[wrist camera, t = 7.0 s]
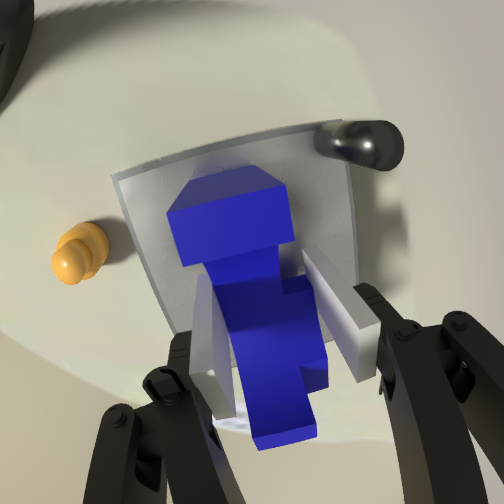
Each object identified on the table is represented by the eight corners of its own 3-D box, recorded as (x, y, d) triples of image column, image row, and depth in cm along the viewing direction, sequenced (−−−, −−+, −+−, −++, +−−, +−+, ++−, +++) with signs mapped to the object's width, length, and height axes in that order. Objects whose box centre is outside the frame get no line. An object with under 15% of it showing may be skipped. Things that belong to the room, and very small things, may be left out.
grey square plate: (131, 167, 16) (60, 199, 8) (317, 121, 16) (402, 116, 8) (196, 341, 22) (194, 437, 13) (340, 303, 22) (393, 383, 14)
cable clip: (314, 354, 17) (345, 427, 12) (245, 371, 17) (258, 450, 11) (286, 158, 12) (341, 174, 7) (189, 180, 12) (165, 213, 7)
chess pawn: (62, 229, 17) (37, 249, 13) (99, 215, 17) (76, 233, 14) (80, 271, 18) (60, 296, 15) (116, 260, 18) (99, 285, 15)
